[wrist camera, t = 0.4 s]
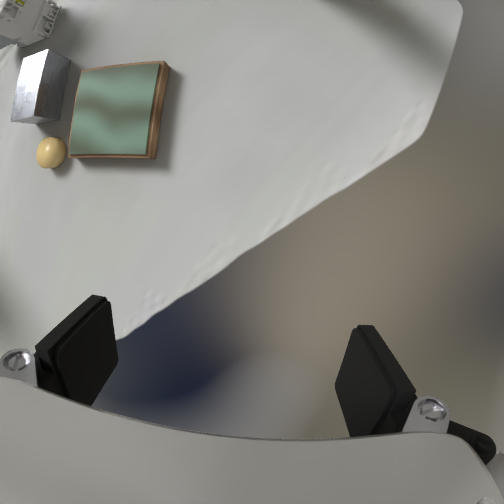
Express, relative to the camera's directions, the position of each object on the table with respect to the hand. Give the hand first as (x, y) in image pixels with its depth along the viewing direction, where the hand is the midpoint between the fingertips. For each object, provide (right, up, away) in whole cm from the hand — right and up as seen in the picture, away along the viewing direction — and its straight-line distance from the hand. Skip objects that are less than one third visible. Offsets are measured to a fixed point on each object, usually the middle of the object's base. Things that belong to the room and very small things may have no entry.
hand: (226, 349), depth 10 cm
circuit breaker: (-43, +47, +19) cm, 67 cm away
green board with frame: (-19, +24, +25) cm, 39 cm away
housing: (-33, +31, +24) cm, 51 cm away
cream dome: (-31, +20, +27) cm, 46 cm away
